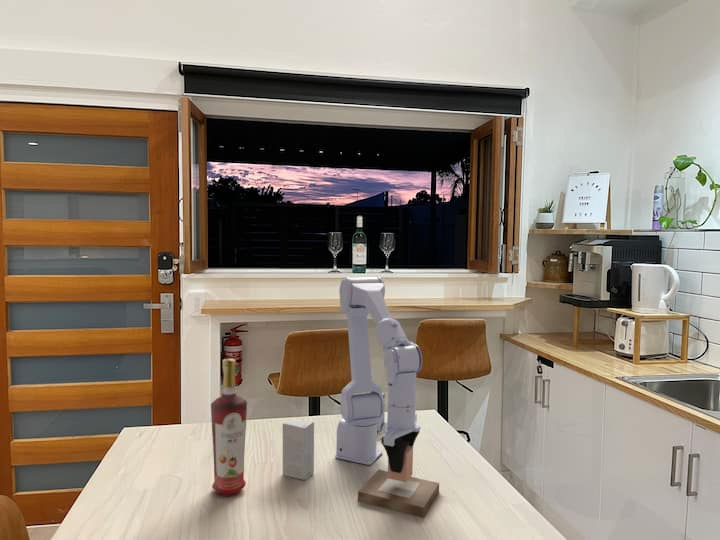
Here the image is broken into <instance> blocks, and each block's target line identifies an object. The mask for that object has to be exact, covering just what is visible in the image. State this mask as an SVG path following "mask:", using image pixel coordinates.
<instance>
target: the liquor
mask: <svg viewBox="0 0 720 540" xmlns="http://www.w3.org/2000/svg"><path fill="white" fill-rule="evenodd" d="M236 368H237V359H236V358H224V359H222V373H223V381H222V388H221V390H222V392H221V396H219V397H217V398H216V399H214V400H212V402H211V403H210V412H211V415H210V416H211V433H212V434H211V436H212V448H213V449H212V450H213V472H214V474H213V475H214V477H213V478H214V481H213V483H212V485H211V487H212V490H213V491H215V492H216V493H217V494H219V495H220V496H223V497H230V496H235V495H238V494H239V493H240V492H241V491H242V489H244V488H245V487H246V484H247V482H246V479H244V475H245V473H244V472H245V451H246V450H245V449H246V448H245V445H246V433H247V432H246V431H247V415H248V414H247V413H248V411H247V410H248V401H247V400H246V399H244V398H243V397H242V396H239V395H237V387H236Z"/></svg>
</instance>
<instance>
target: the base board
mask: <svg viewBox="0 0 720 540" xmlns="http://www.w3.org/2000/svg"><path fill="white" fill-rule="evenodd" d="M439 493H440V482H436V481H431V480H427V479H422V478H418V477H413V476H411V477H410V478H409V479H408V481H407V482H402V481H398V480H393V479H389V478H388V470H383V469H378V470H377V471H376V472H375V473H374V474H373V475H372V476H370V478H369V479H368V480H367V481H366V482H365V483H364V485H362V487H361V488H360V489H359V490H358V491H357V501H358V502H361V503H366V504H369V505H373V506H377V507H381V508H384V507H385V509H388V510H393V511H396V512H400V513H405V514H408V515H411V516H416V517H418V518H419V517H420V518H424V517H425V515H426V514H427V512H428V510H429V509H430V507H431V506H432V504H433V503H434V501H435V500H436V498H437V496H438V495H439Z"/></svg>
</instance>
